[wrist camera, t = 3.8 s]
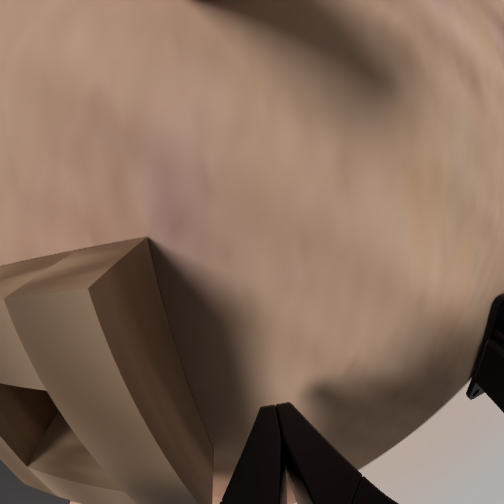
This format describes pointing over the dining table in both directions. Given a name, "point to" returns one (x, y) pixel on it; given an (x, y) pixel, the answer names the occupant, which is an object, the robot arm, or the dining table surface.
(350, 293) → the dining table surface
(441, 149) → the dining table surface
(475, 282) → the dining table surface
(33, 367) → the block
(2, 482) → the bar
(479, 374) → the robot arm
